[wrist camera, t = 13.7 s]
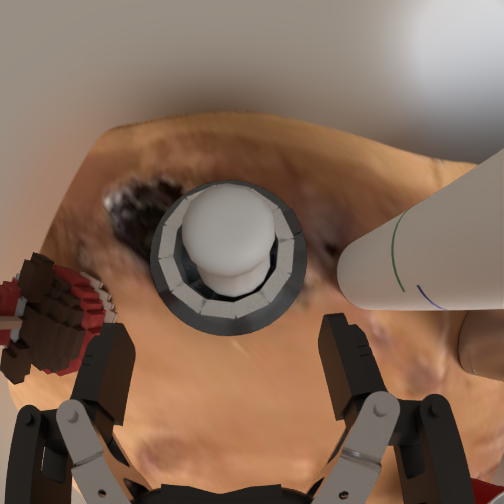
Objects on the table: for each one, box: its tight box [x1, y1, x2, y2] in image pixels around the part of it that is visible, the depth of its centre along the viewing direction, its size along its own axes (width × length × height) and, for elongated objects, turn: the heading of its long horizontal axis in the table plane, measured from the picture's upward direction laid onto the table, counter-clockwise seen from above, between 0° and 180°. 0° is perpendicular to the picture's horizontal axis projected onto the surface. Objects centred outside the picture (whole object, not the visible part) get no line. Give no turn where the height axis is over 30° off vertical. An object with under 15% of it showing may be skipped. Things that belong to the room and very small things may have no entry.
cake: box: [0, 252, 118, 385], centre depth 16 cm, size 11×9×18 cm
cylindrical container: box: [337, 149, 504, 310], centre depth 14 cm, size 7×7×25 cm
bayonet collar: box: [150, 180, 307, 336], centre depth 24 cm, size 14×14×4 cm
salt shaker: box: [182, 183, 275, 297], centre depth 18 cm, size 6×6×13 cm
